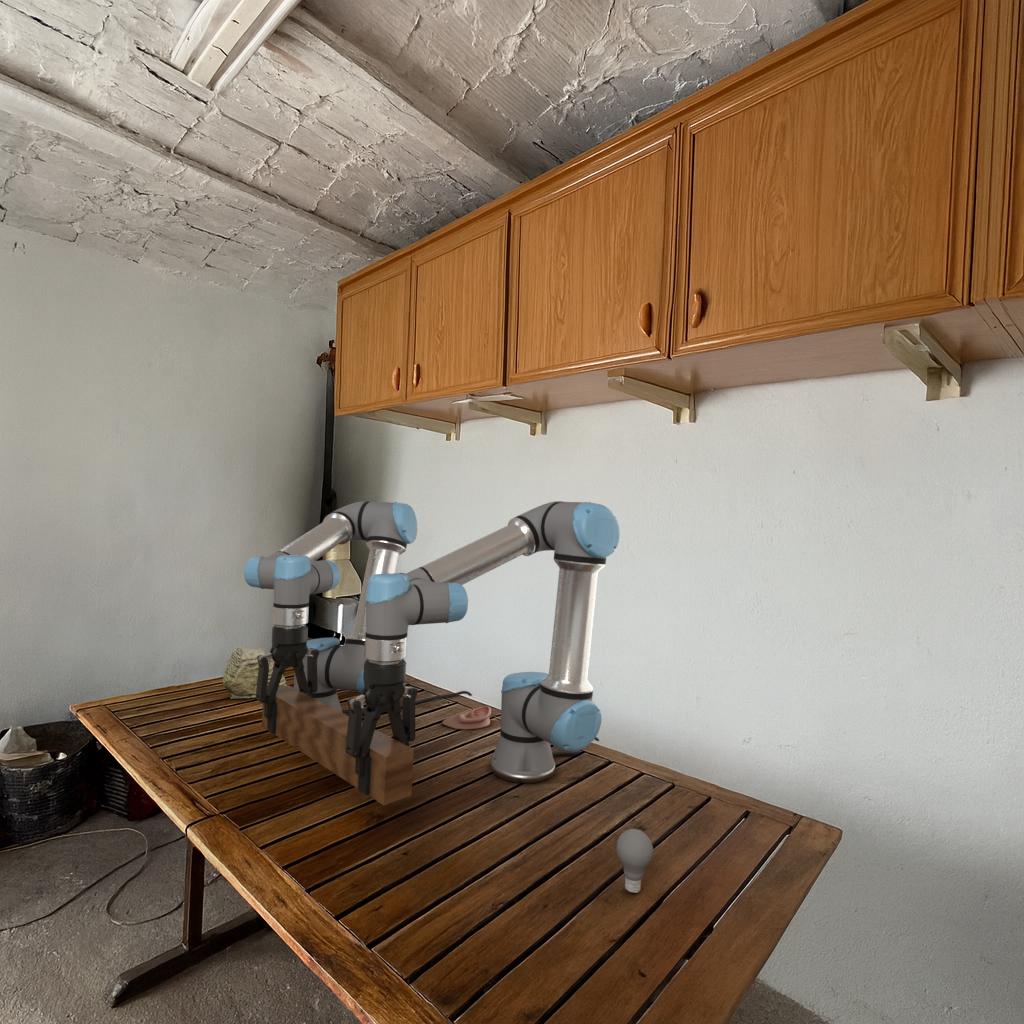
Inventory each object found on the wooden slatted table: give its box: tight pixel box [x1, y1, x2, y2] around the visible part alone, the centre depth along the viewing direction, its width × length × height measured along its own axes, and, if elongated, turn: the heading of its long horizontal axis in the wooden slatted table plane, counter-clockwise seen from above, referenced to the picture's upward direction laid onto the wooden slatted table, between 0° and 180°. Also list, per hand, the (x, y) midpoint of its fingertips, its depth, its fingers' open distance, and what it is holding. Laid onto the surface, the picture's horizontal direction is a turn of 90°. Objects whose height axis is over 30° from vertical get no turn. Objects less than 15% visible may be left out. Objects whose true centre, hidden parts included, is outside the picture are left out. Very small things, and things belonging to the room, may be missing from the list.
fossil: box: [222, 646, 287, 699], centre depth 198 cm, size 9×18×15 cm, turn 132°
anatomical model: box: [441, 705, 492, 730], centre depth 181 cm, size 13×4×12 cm
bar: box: [261, 684, 415, 806], centre depth 128 cm, size 49×6×8 cm, turn 45°
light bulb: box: [615, 828, 654, 894], centre depth 106 cm, size 6×6×10 cm
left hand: (285, 728), depth 141 cm, fingers closed on bar, 6 cm apart
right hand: (379, 786), depth 115 cm, fingers closed on bar, 6 cm apart
